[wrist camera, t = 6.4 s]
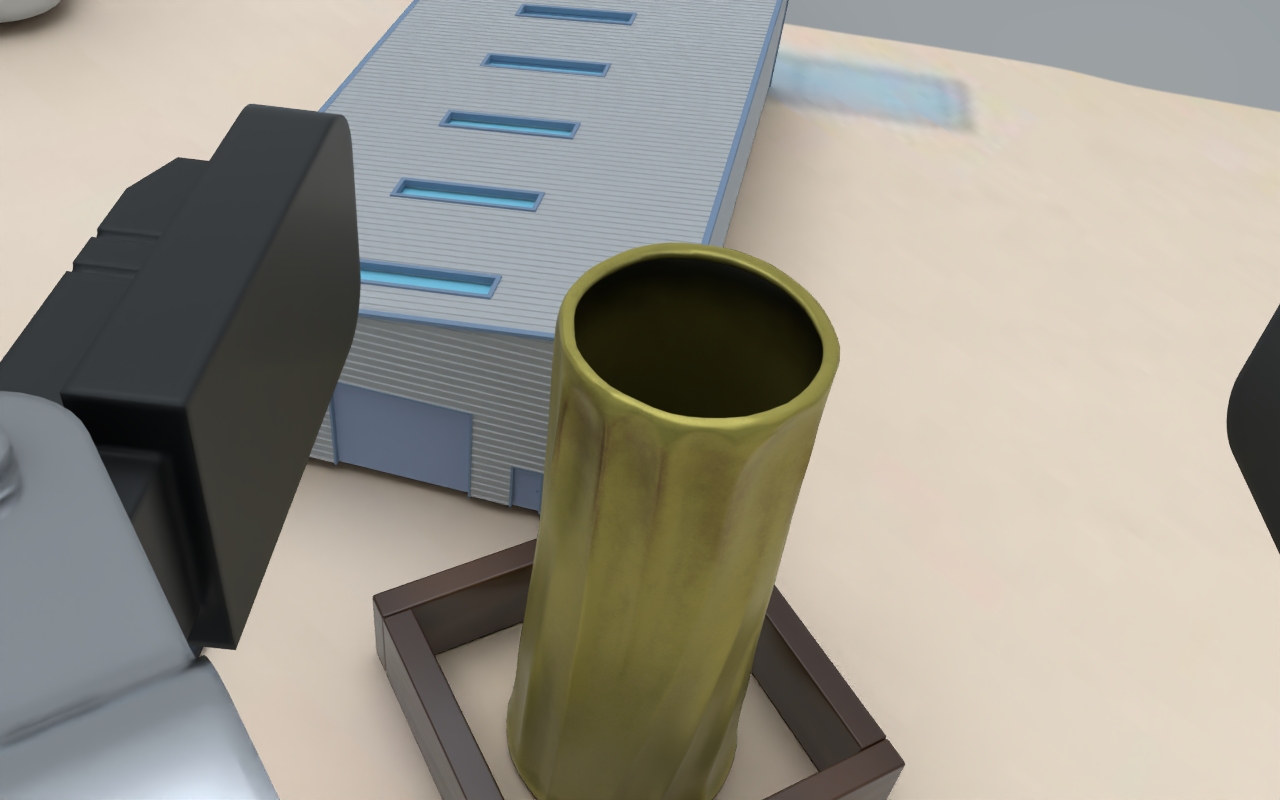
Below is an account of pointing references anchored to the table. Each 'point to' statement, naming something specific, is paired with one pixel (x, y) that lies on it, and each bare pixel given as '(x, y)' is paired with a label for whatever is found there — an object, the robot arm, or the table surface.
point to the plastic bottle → (24, 8)
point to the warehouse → (522, 206)
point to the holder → (497, 598)
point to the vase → (662, 517)
